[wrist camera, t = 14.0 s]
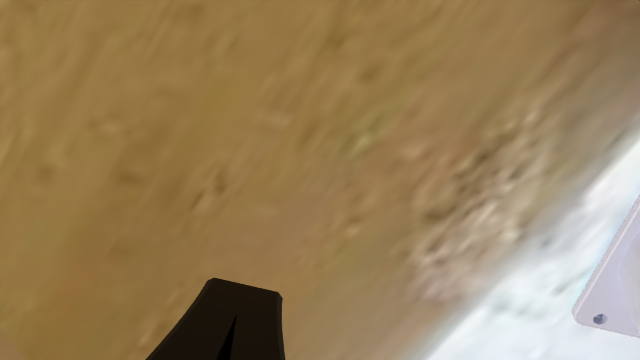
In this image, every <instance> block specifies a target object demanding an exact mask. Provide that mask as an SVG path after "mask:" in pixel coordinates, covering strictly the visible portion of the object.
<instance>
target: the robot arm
mask: <svg viewBox="0 0 640 360" xmlns="http://www.w3.org/2000/svg"><path fill="white" fill-rule="evenodd" d="M282 300H283V298H282V297H281V295H280V294H279V293H278V292H275V291H271V290H266V289H262V288H257V287H253V286H249V285H244V284H240V283H235V282H231V281H227V280H222V279H218V278H212V279H210V280H208V281H207V282H206V284H205V285H204V287H203V289H202V290H201V292H200V293H199V295H198V296H197V298H196V299H195V301H194V302H193V304H192V305H191V306H190V308H189V309H188V310H187V312H186V313H185V314H184V315H183V317H182V318H181V319H180V320H179V322H178V323H177V324H176V325H175V327H174V328H173V329H172V330H171V331H170V332H169V334H168V335H167V336H166V337H165V338H164V339H163V340H162V342H161V343H160V344H159V345H158V346H157V347H156V348H155V350H154V351H153V352H152V353H151V354H150V355H149V356H148V357H147V358H146V360H285V353H284V344H283V334H282ZM572 314H573V317H574V320H575V321H576V322H577V323H579V324H581V325H585V326H589V327H594V328H598V329H602V330H607V331H611V332H615V333H620V334H624V335H629V336H633V337H637V338H640V195H639V196H638V198H637V200H636V201H635V203H634V205H633V206H632V208H631V210H630V211H629V213H628V215H627V217H626V218H625V220H624V222H623V223H622V225H621V227H620V228H619V230H618V232H617V233H616V235H615V237H614V239H613V240H612V242H611V244H610V245H609V247H608V249H607V250H606V252H605V254H604V255H603V257H602V259H601V260H600V262H599V264H598V266H597V267H596V269H595V271H594V272H593V274H592V276H591V277H590V279H589V281H588V282H587V284H586V286H585V288H584V289H583V291H582V293H581V294H580V296H579V298H578V299H577V301H576V303H575V304H574V306H573V308H572ZM599 314H603V315H602V316H600V317H595V316H596V315H599Z"/></svg>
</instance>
